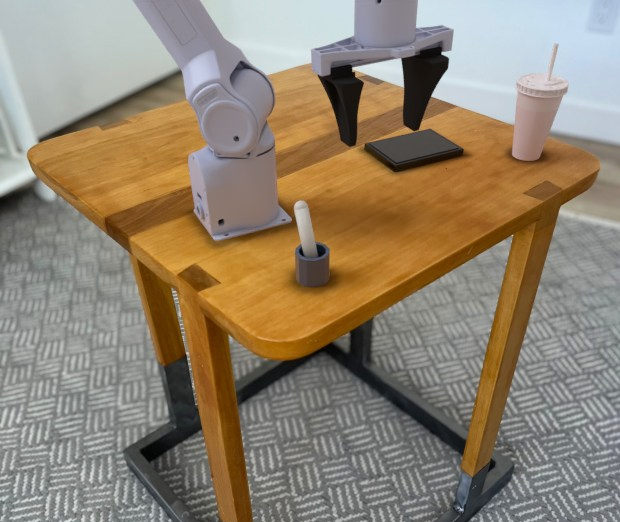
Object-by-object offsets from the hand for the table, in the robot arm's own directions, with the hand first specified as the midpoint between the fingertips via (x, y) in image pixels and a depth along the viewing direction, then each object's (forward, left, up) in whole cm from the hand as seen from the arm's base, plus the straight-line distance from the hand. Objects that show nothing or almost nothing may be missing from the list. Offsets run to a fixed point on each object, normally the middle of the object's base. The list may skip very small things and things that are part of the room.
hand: (380, 135), depth 64 cm
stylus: (-11, -7, -10) cm, 17 cm away
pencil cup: (-11, -7, -10) cm, 17 cm away
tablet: (+15, +14, -10) cm, 23 cm away
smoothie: (+28, +6, -11) cm, 30 cm away
